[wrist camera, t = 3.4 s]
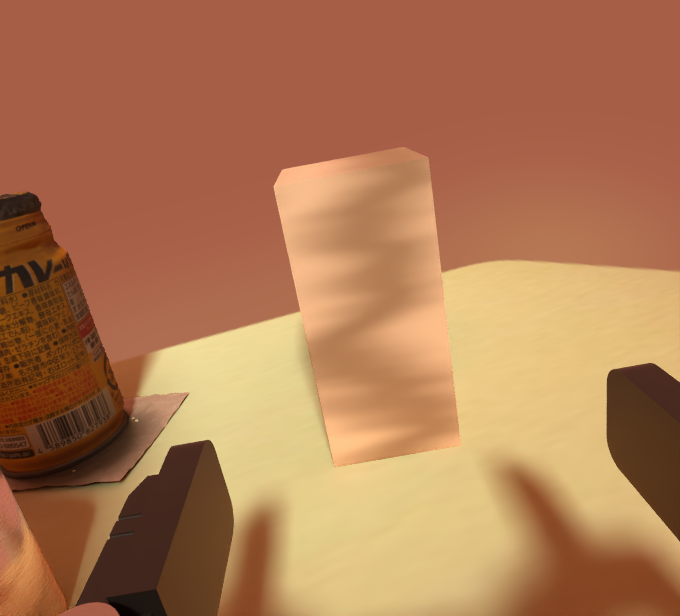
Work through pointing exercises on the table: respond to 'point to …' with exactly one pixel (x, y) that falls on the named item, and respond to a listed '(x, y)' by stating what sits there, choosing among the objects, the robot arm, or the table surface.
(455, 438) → the maple block
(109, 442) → the condiment
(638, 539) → the table surface
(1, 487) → the metal cylinder
